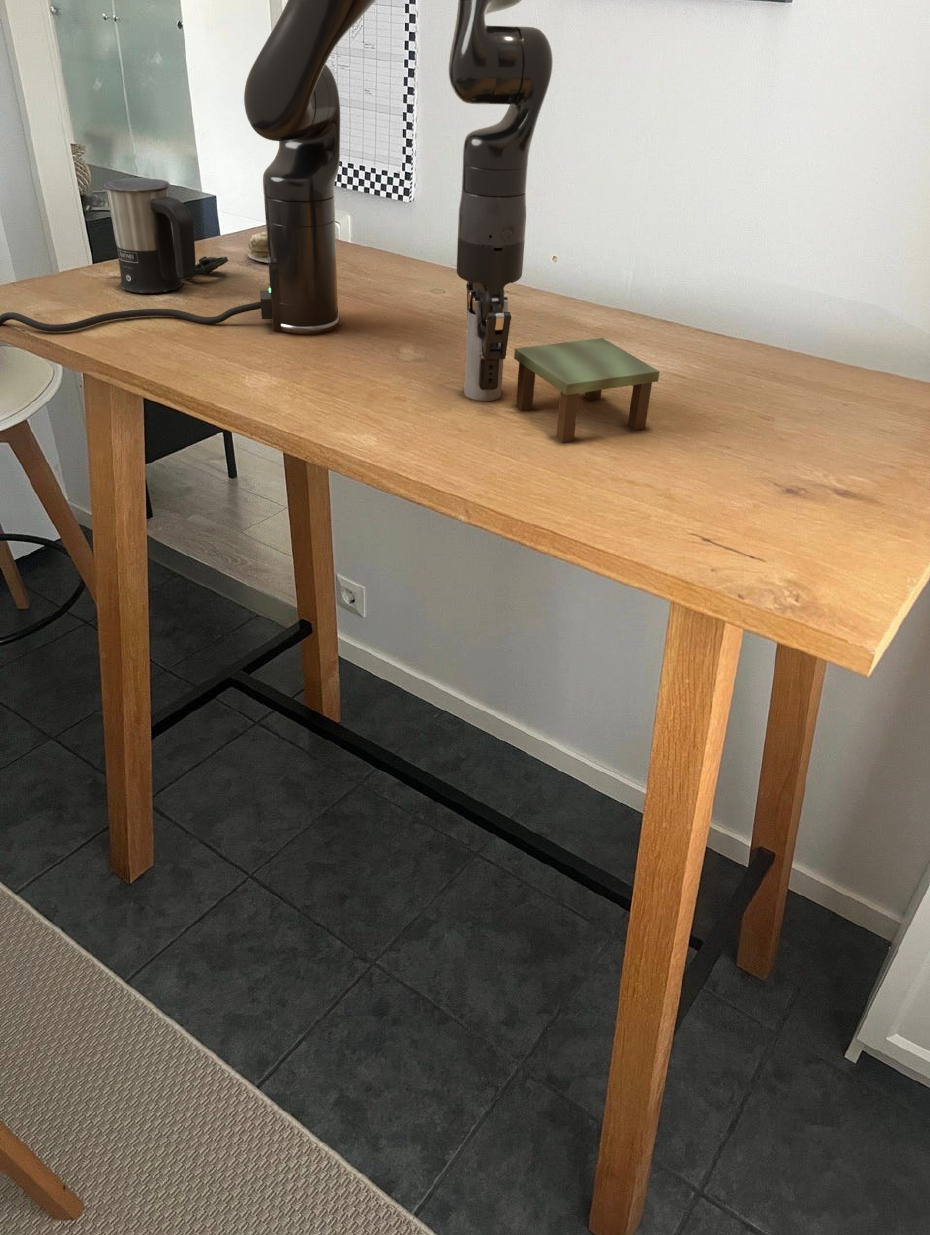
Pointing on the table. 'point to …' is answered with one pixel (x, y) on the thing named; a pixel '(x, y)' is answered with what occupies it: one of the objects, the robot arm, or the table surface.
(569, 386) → the plant stand
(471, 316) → the grey hollow tube
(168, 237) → the milk frother
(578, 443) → the table surface
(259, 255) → the cake
